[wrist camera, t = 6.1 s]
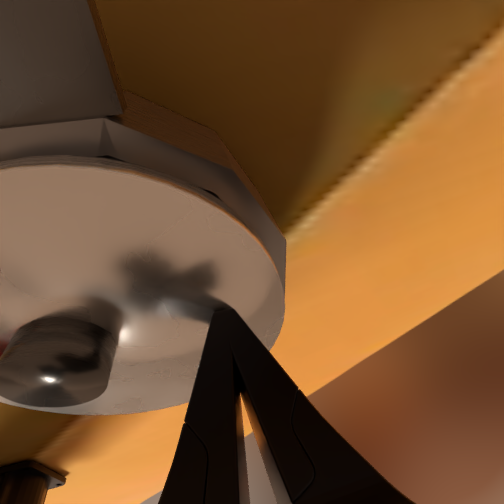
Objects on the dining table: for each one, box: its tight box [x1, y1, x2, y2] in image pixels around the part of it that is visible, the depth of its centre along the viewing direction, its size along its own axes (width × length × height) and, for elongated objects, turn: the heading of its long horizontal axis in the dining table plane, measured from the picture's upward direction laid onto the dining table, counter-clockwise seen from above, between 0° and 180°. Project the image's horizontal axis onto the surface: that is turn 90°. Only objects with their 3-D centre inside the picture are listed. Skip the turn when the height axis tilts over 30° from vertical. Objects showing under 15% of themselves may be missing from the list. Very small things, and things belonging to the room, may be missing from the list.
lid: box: [0, 155, 285, 415], centre depth 8 cm, size 12×11×2 cm
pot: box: [0, 0, 286, 413], centre depth 11 cm, size 17×13×4 cm
